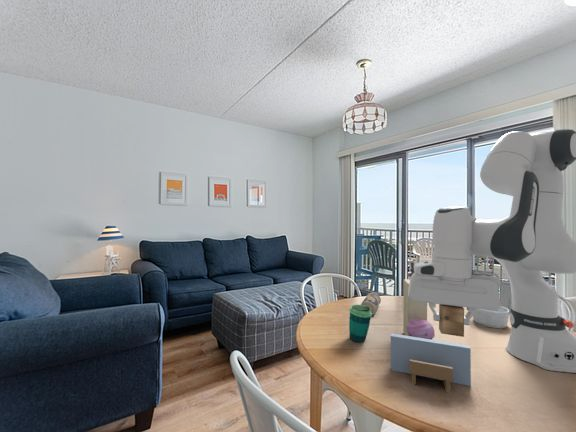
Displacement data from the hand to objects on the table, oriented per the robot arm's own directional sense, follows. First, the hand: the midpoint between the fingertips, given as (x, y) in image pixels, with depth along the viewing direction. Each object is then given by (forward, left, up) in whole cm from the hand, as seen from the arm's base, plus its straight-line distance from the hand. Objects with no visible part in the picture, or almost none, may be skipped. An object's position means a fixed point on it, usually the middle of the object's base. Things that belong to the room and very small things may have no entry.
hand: (450, 322), depth 69 cm
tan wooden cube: (0, 0, -3) cm, 3 cm away
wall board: (+5, -3, -18) cm, 19 cm away
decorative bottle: (+27, -55, -18) cm, 64 cm away
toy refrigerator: (+7, -32, -18) cm, 37 cm away
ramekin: (-23, -60, -18) cm, 67 cm away
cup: (+26, -22, -18) cm, 38 cm away
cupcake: (+6, -23, -18) cm, 30 cm away
